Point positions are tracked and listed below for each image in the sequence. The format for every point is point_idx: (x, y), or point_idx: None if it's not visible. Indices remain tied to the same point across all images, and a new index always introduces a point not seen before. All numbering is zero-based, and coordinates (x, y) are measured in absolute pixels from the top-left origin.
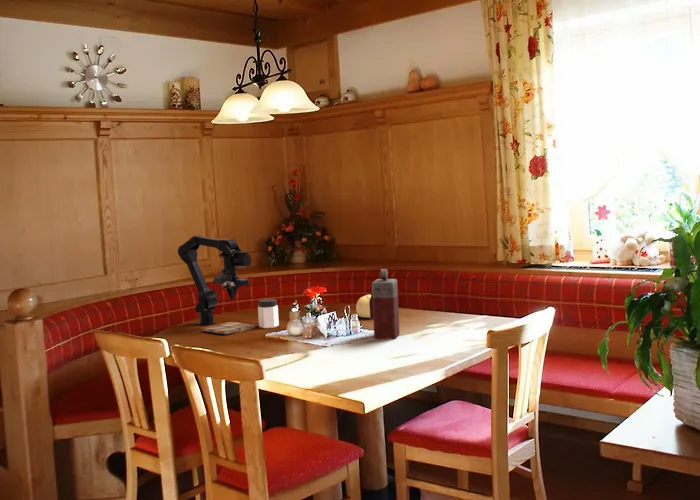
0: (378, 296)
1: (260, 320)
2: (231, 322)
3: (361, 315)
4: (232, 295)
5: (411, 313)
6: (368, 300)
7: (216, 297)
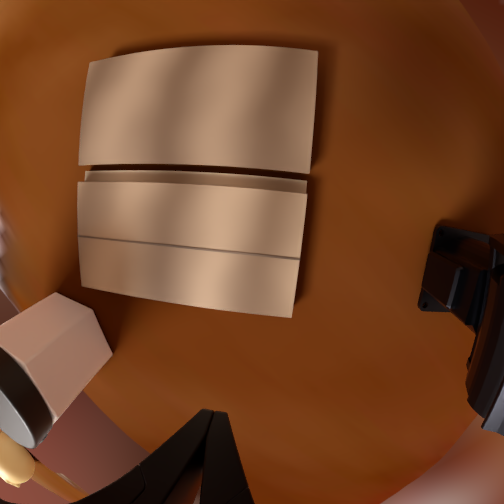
0: None
1: (58, 317)
2: (269, 300)
3: (7, 435)
4: (162, 452)
5: None
6: None
7: (487, 417)
